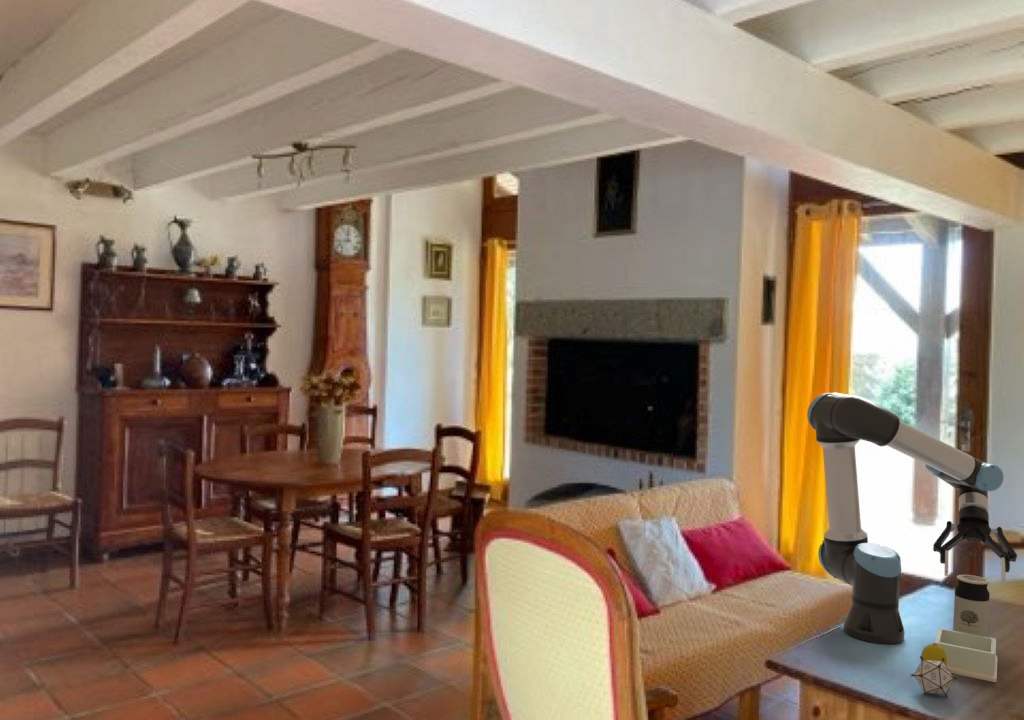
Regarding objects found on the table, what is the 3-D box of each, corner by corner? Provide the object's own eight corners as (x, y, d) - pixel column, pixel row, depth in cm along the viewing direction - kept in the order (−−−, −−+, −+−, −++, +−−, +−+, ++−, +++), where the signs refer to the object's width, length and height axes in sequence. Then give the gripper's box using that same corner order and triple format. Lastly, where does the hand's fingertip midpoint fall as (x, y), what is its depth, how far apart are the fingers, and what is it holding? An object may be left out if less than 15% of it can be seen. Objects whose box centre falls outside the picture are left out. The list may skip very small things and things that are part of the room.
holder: (996, 682, 198) (997, 658, 197) (930, 668, 205) (931, 645, 204) (997, 658, 213) (998, 636, 213) (935, 646, 220) (936, 624, 220)
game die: (934, 707, 191) (955, 669, 193) (949, 709, 183) (971, 670, 185) (898, 683, 193) (918, 645, 196) (911, 684, 185) (933, 645, 188)
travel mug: (959, 638, 227) (963, 572, 227) (991, 647, 221) (995, 579, 221) (946, 644, 222) (950, 577, 221) (979, 654, 216) (983, 584, 215)
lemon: (923, 669, 204) (924, 637, 204) (948, 676, 200) (950, 643, 200) (917, 676, 199) (919, 643, 199) (942, 683, 196) (944, 649, 196)
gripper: (1022, 525, 238) (1026, 591, 225) (924, 514, 249) (922, 577, 236) (1025, 510, 233) (1030, 577, 220) (925, 499, 244) (924, 562, 231)
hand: (974, 577), depth 228 cm, fingers open, 13 cm apart
